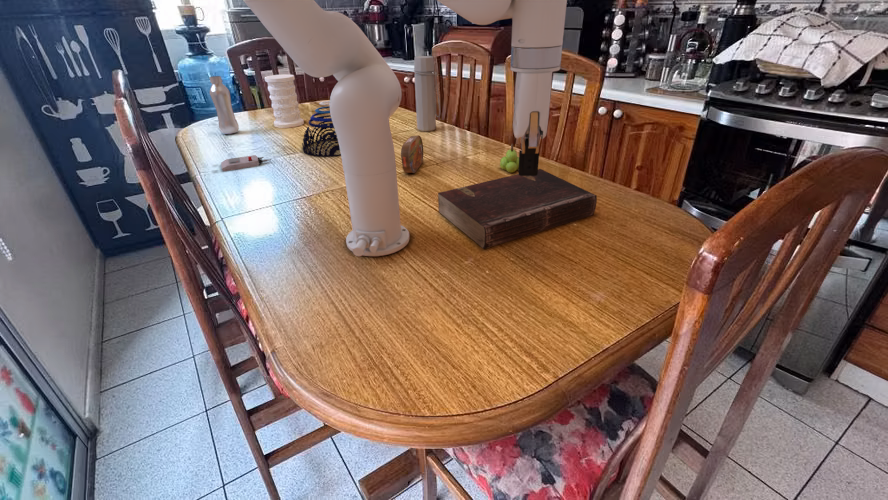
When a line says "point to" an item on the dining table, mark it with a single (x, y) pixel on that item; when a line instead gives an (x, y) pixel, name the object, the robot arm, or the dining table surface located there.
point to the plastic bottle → (223, 106)
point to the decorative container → (284, 100)
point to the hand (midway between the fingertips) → (527, 173)
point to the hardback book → (514, 207)
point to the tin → (412, 154)
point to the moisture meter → (241, 162)
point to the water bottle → (425, 93)
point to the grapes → (510, 161)
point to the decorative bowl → (322, 127)
